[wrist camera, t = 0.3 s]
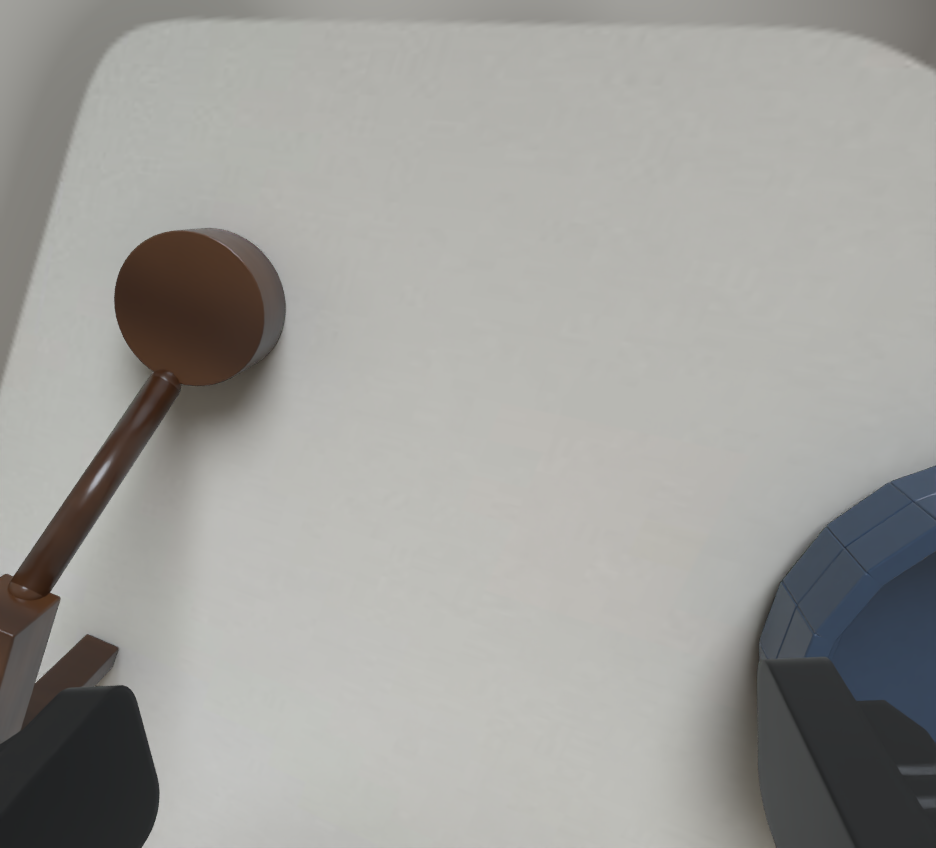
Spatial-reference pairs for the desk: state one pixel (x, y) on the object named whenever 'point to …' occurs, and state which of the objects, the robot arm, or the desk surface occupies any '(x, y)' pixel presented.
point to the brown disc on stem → (137, 430)
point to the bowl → (869, 599)
